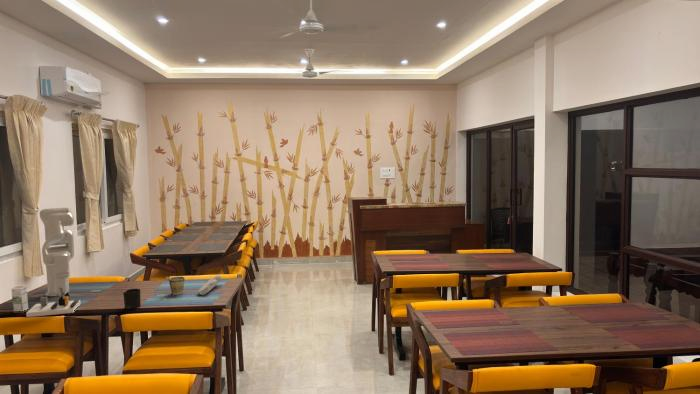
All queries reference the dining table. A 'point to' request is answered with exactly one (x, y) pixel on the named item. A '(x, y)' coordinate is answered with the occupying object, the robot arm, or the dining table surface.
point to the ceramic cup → (177, 285)
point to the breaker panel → (46, 309)
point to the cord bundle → (70, 305)
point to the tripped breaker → (66, 300)
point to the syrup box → (19, 298)
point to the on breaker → (44, 301)
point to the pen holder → (132, 298)
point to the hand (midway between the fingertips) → (64, 303)
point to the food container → (209, 285)
